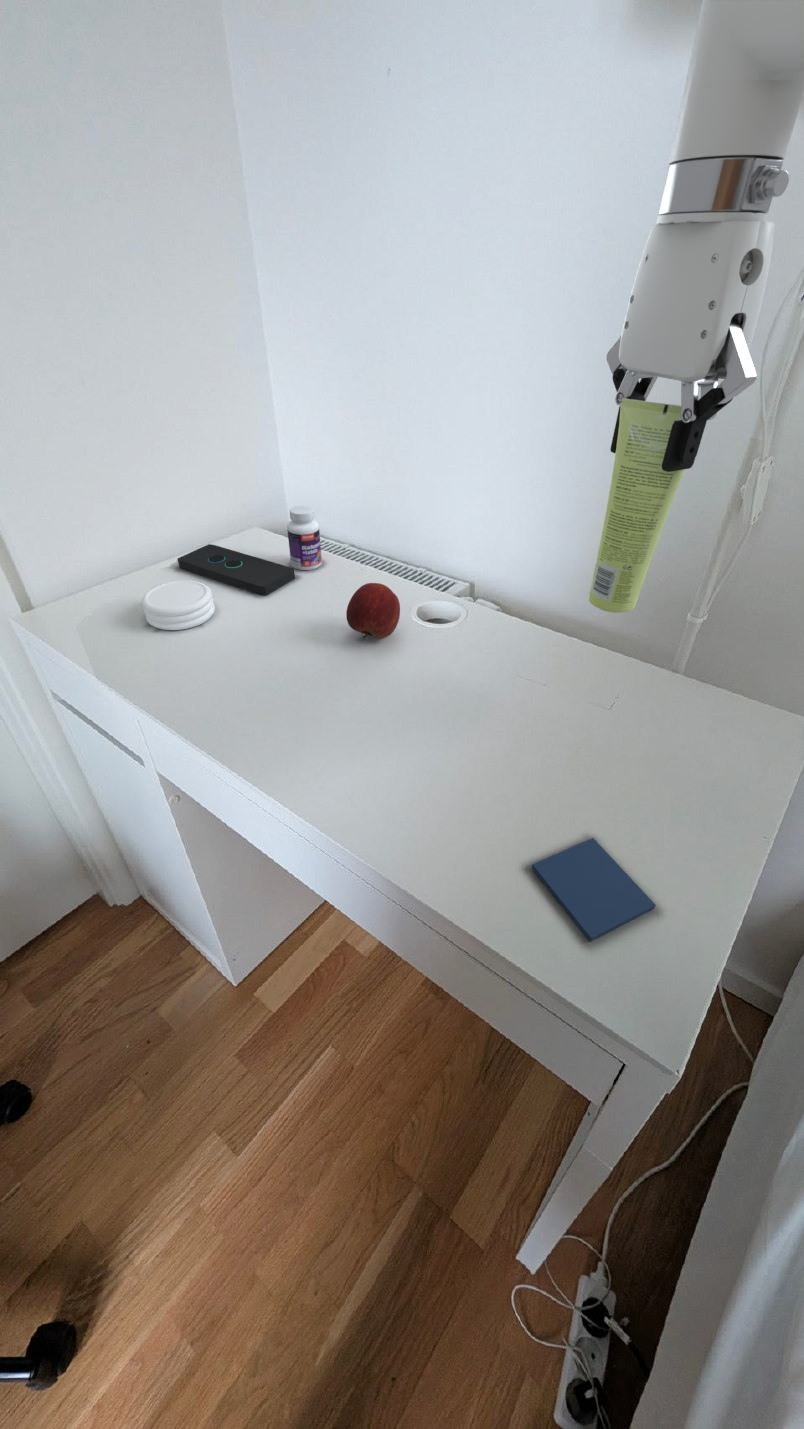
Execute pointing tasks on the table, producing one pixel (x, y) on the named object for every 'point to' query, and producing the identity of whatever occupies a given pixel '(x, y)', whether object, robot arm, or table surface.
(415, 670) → the table surface
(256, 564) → the smart home device
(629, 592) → the tube
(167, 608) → the coaster
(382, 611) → the apple
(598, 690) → the table surface
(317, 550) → the pill bottle
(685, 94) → the robot arm
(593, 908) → the mat
